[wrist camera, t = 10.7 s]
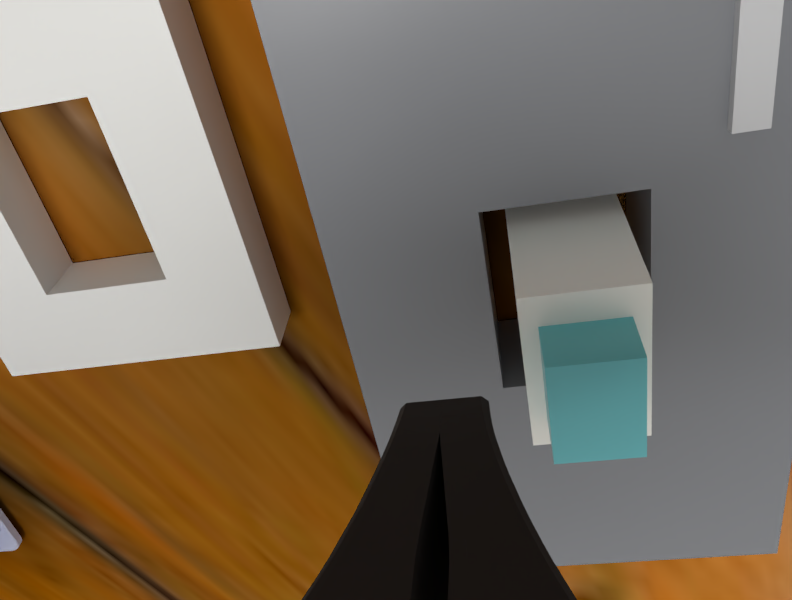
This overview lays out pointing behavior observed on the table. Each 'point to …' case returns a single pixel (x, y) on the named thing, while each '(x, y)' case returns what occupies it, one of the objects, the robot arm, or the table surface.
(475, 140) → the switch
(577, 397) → the plug
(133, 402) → the table surface
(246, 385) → the table surface
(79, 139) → the table surface
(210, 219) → the square frame
